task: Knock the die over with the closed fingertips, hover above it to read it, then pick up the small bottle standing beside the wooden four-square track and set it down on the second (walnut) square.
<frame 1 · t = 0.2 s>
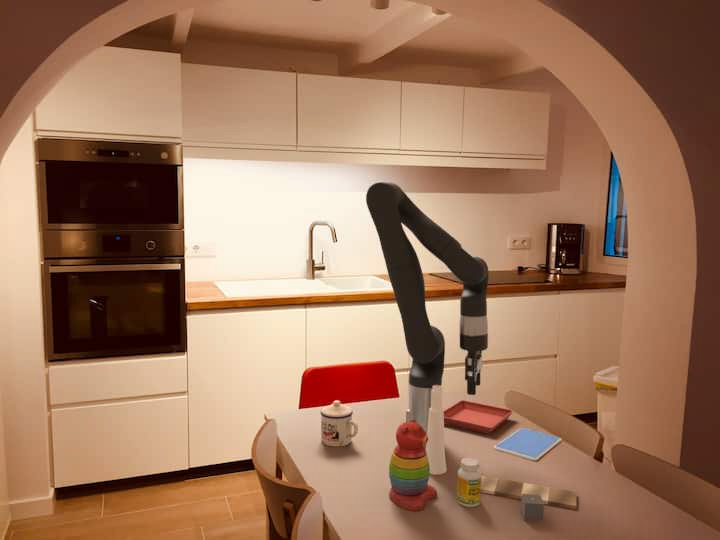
hand: (473, 389, 160), 17 cm above the table, tool pointing down, fingers open, 8 cm apart
plant saucer: (475, 423, 184), on the table
track: (522, 492, 138), on the table
die: (531, 516, 128), on the table
blue flat rectangular panel: (528, 446, 167), on the table
stacking bear: (410, 498, 136), on the table
supplement bottle: (468, 502, 134), on the table
cosmetic bottle: (434, 470, 150), on the table
teacup with lid: (340, 442, 166), on the table
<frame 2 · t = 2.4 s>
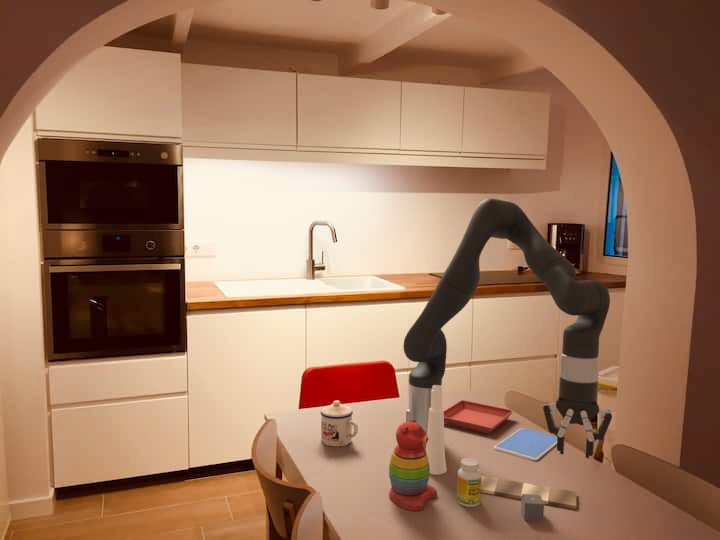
hand: (574, 454, 123), 15 cm above the table, tool pointing down, fingers open, 4 cm apart
nothing on the table moved.
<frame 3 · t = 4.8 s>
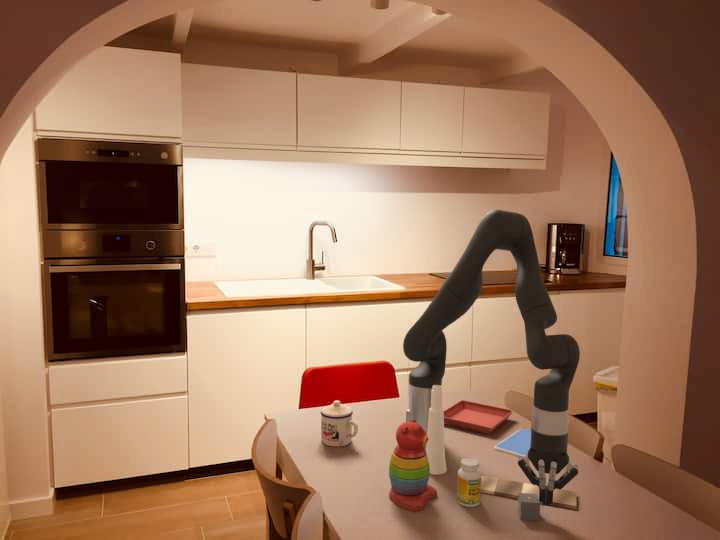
hand: (545, 504, 127), 3 cm above the table, tool pointing down, fingers closed
die: (528, 515, 128), on the table, touching gripper
everything else where it was.
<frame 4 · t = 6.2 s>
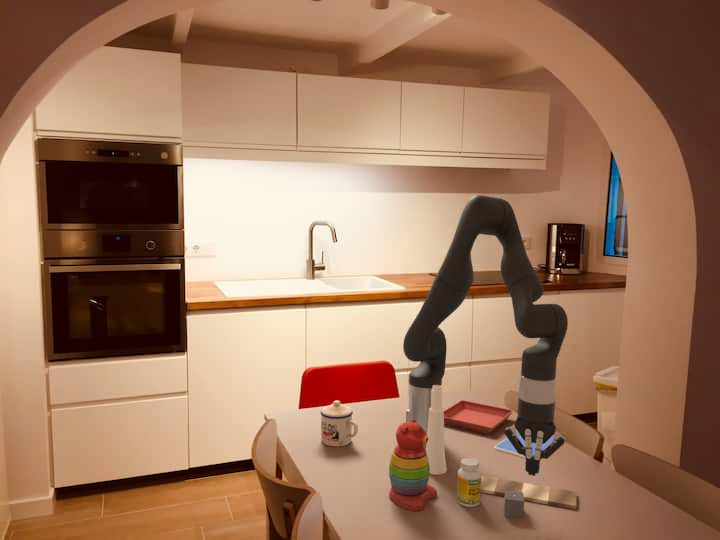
hand: (532, 473, 127), 10 cm above the table, tool pointing down, fingers closed
die: (513, 513, 129), on the table
everything else where it was.
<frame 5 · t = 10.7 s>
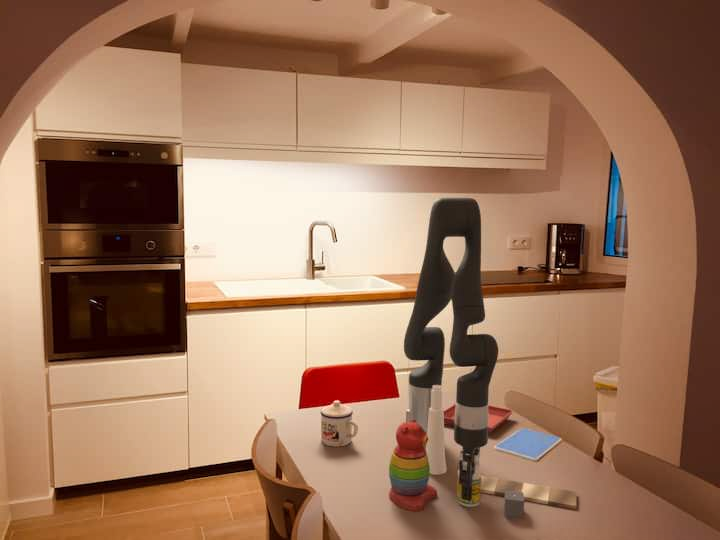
hand: (468, 493, 134), 2 cm above the table, tool pointing down, fingers closed on supplement bottle, 5 cm apart
supplement bottle: (468, 502, 134), on the table, touching gripper
everything else where it was.
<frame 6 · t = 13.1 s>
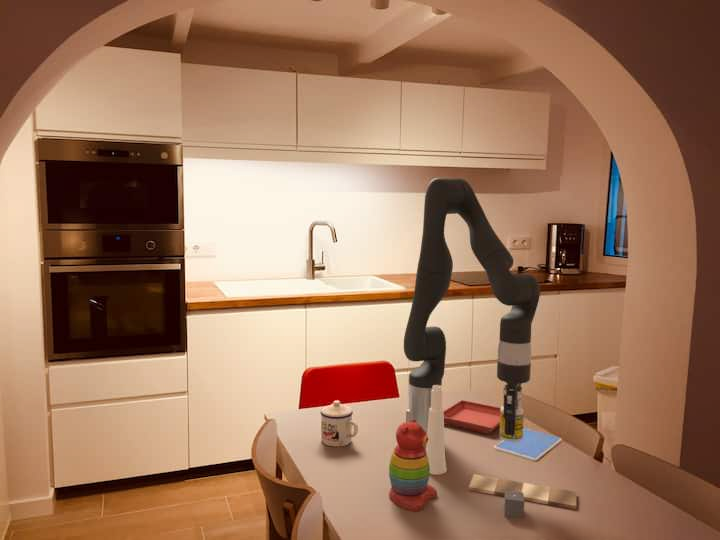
hand: (511, 429, 138), 15 cm above the table, tool pointing down, fingers closed on supplement bottle, 5 cm apart
supplement bottle: (510, 438, 138), point 13 cm above the table, touching gripper
everything else where it was.
when the fingers open (4 cm above the table, at t = 15.4 s): supplement bottle drops 1 cm, resting on track.
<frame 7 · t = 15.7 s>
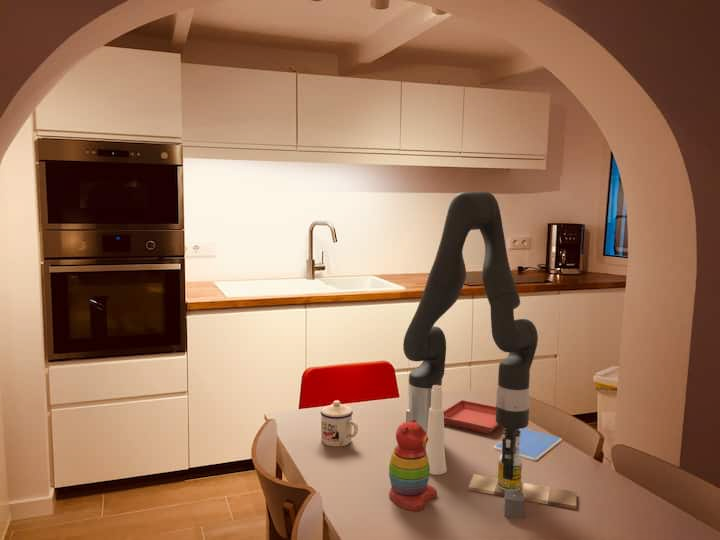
hand: (509, 471, 139), 5 cm above the table, tool pointing down, fingers open, 7 cm apart
supplement bottle: (508, 488, 139), point 1 cm above the table, touching track
everything else where it was.
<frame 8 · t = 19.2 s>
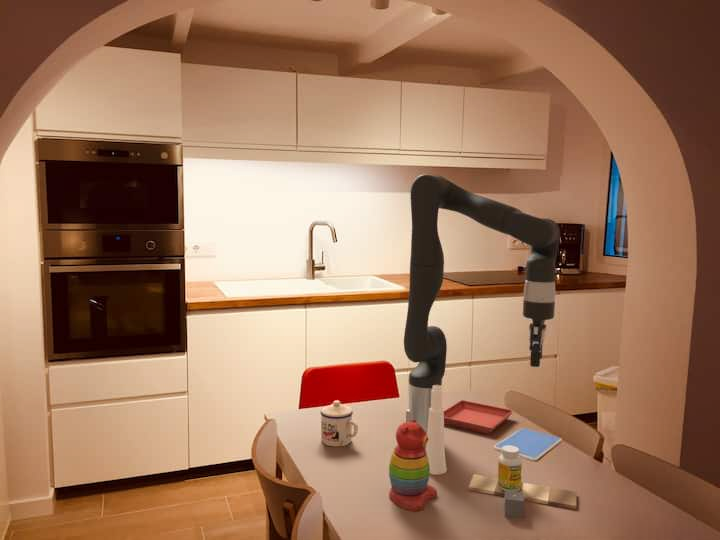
hand: (536, 362, 148), 28 cm above the table, tool pointing down, fingers open, 8 cm apart
nothing on the table moved.
at the end: supplement bottle inside the target area (0.2 cm from its centre), point 0.6 cm above the table; supplement bottle tilted 0°; die moved 3.9 cm from its start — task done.
